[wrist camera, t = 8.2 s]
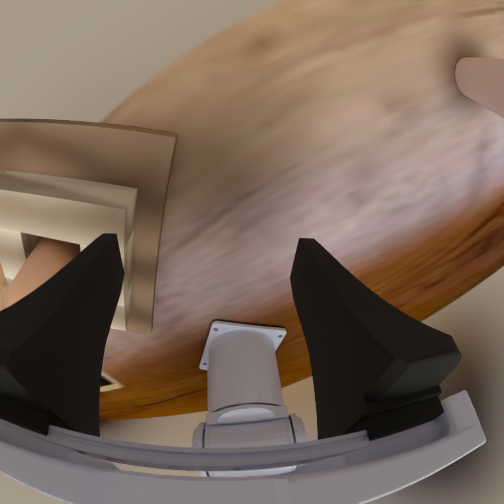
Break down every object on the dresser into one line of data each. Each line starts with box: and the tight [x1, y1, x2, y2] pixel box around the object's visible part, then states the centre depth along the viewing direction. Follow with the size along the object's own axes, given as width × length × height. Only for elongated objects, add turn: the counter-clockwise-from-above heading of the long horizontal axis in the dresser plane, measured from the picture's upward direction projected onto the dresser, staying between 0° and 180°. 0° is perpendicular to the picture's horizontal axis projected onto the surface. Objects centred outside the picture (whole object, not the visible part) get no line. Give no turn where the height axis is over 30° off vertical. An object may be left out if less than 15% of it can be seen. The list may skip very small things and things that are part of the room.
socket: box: [0, 119, 178, 335], centre depth 19 cm, size 20×16×4 cm
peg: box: [3, 237, 81, 308], centre depth 17 cm, size 4×4×8 cm
